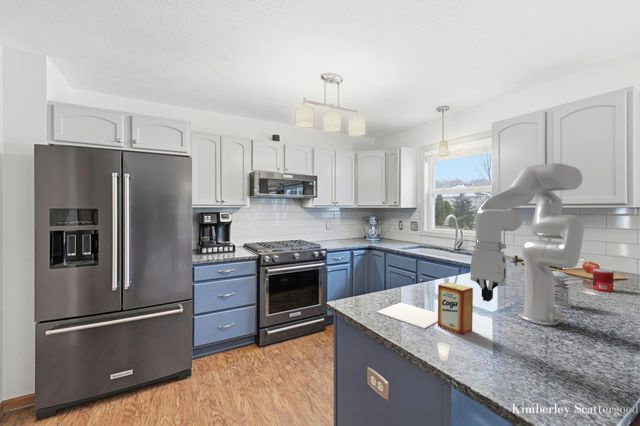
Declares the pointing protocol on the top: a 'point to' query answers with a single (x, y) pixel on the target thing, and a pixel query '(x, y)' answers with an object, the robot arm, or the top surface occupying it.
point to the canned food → (603, 280)
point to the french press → (561, 291)
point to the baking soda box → (455, 307)
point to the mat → (410, 315)
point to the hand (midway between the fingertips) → (487, 300)
